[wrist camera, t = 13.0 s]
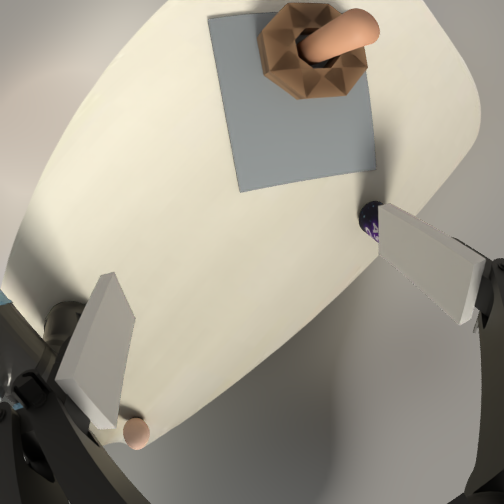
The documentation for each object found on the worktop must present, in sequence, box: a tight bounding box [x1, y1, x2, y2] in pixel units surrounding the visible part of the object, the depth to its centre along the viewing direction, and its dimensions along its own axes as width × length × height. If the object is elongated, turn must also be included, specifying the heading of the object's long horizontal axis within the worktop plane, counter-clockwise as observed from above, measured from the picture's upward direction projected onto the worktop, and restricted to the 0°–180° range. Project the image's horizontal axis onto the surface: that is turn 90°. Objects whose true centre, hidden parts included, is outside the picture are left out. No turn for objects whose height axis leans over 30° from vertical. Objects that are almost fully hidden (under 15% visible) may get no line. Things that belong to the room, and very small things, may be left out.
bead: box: [257, 3, 368, 100], centre depth 33 cm, size 14×14×4 cm
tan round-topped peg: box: [296, 8, 380, 66], centre depth 27 cm, size 4×4×16 cm
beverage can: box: [359, 201, 384, 243], centre depth 42 cm, size 6×6×12 cm
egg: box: [123, 418, 150, 450], centre depth 58 cm, size 7×7×9 cm
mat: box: [208, 12, 376, 193], centre depth 37 cm, size 22×26×1 cm
